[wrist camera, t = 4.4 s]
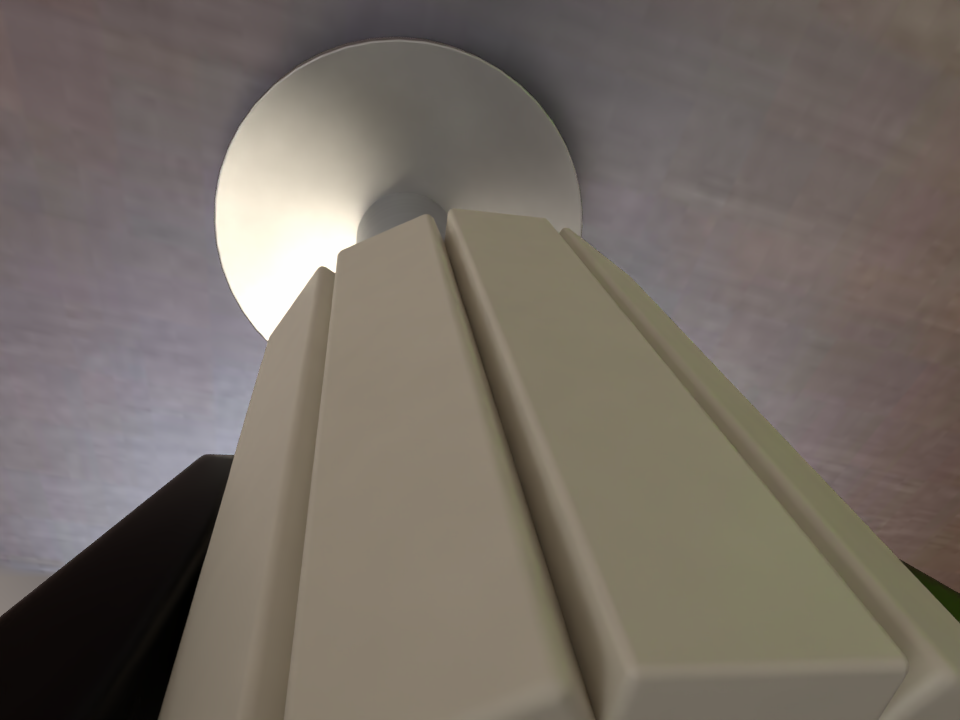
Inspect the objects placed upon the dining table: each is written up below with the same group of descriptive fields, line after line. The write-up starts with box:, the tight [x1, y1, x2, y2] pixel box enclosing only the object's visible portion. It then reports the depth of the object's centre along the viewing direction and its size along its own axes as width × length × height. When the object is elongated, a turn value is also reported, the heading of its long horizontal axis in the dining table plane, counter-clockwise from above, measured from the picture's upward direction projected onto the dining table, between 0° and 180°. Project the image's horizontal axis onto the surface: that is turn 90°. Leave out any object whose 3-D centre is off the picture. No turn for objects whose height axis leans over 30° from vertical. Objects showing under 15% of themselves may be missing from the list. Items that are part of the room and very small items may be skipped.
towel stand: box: [214, 37, 582, 342], centre depth 14 cm, size 9×9×9 cm
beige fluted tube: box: [158, 208, 960, 720], centre depth 7 cm, size 6×6×7 cm
